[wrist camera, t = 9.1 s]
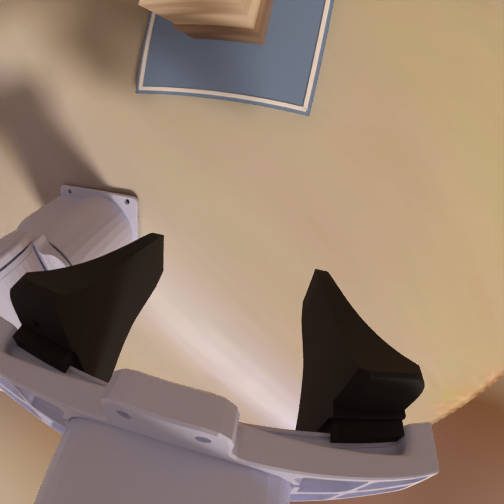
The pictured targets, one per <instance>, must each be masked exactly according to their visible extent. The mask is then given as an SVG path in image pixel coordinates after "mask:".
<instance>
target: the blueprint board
mask: <svg viewBox="0 0 504 504" xmlns="http://www.w3.org/2000/svg"><path fill="white" fill-rule="evenodd" d="M333 3H334V0H261V2H260V6H259V10H258V14H257V18H256V23H255V27H254V29H249V28H241V27H231V26H219V25H200V24H174V23H172V22H171V21H169V20H167V19H165V18H163V17H161V16H159V15H158V14H156V13H154V12H152V11H151V12H150V16H149V20H148V24H147V29H146V34H145V38H144V43H143V49H142V54H141V60H140V66H139V72H138V79H137V86H136V93H148V94H170V95H184V96H195V97H205V98H214V99H222V100H229V101H236V102H242V103H248V104H254V105H260V106H265V107H270V108H275V109H280V110H285V111H289V112H294V113H298V114H302V115H306V116H309V115H310V111H311V106H312V102H313V98H314V93H315V89H316V84H317V80H318V75H319V71H320V66H321V61H322V57H323V52H324V47H325V43H326V38H327V33H328V28H329V23H330V18H331V13H332V8H333Z"/></svg>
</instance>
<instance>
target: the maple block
mask: <svg viewBox="0 0 504 504" xmlns="http://www.w3.org/2000/svg"><path fill="white" fill-rule="evenodd" d="M260 2H261V0H140V1H139V5H140V6H142V7H144V8H146V9H148V10H150V11H152V12H154V13H156V14H158V15H159V16H161V17H163V18H165V19H167V20H169V21H171V22H172V23H174V24H200V25H219V26H231V27H241V28H249V29H254V27H255V23H256V18H257V14H258V10H259V6H260Z"/></svg>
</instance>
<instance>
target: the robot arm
mask: <svg viewBox="0 0 504 504" xmlns="http://www.w3.org/2000/svg"><path fill="white" fill-rule="evenodd" d="M70 190H71V191H72V192H71V191H70ZM60 195H61V196H59V197H57V198H56V199H54V200H52V201H51V202H49V203H48V204H46V205H44V206H43V207H41V208H40V209H38V210H37V211H35V212H34V213H32V214H31V215H29V216H28V217H26V218H25V219H24V220H23V221H22V222H21V223H20V225H19V226H18V228H17V230H15V231H13V232H11V233H9V234H8V235H6V236H4V237H3V238H1V239H0V391H3V392H5V393H6V394H7V395H9V396H10V397H11V398H12V399H14V400H15V401H16V402H18V403H19V404H20V405H21V406H23V407H24V408H25V409H27V410H28V411H29V412H31V413H32V414H33V415H35V416H36V417H37V418H39V419H40V420H42V421H43V422H44V423H46V424H47V425H49V426H50V427H52V428H53V429H55V430H56V431H58V432H59V433H61V434H62V435H63V436H62V438H61V441H60V443H59V445H58V447H57V449H56V452H55V454H54V456H53V458H52V461H51V463H50V465H49V467H48V470H47V473H46V475H45V477H44V479H43V482H42V484H41V487H40V489H39V492H38V495H37V498H36V500H35V503H34V504H290V501H319V500H334V499H344V498H353V497H361V496H368V495H375V494H381V493H387V492H393V491H398V490H403V489H405V488H408V487H410V486H412V485H414V484H417V483H419V482H421V481H423V480H425V479H427V478H429V477H431V476H433V475H435V474H437V473H438V472H439V467H438V459H437V453H436V448H435V443H434V437H433V432H432V428H431V423H430V422H425V423H413V424H408V425H405V426H403V423H402V420H403V419H405V417H406V415H405V409H406V408H407V407H408V406H409V405H410V404H411V403H413V402H414V401H415V400H416V399H417V398H418V397H419V396H420V394H421V393H422V391H423V389H424V380H423V376H422V373H421V370H420V367H419V365H417V364H416V363H414V362H412V361H411V360H409V359H408V358H406V357H404V356H403V355H401V354H400V353H399V352H397V351H396V350H395V349H393V348H392V347H391V346H390V345H388V344H387V343H386V342H385V341H384V340H382V339H381V338H380V337H379V336H378V335H377V334H376V333H375V332H374V331H373V330H372V329H371V328H370V327H369V326H368V325H367V324H366V323H365V322H364V321H363V320H362V318H361V317H360V316H359V315H358V314H357V312H356V311H355V310H354V309H353V307H352V306H351V305H350V303H349V302H348V301H347V299H346V298H345V296H344V295H343V293H342V292H341V290H340V289H339V287H338V286H337V284H336V283H335V281H334V280H333V278H332V277H331V275H330V274H329V273H328V272H327V271H322V270H318V269H315V272H314V274H313V277H312V280H311V282H310V285H309V288H308V290H307V293H306V296H305V298H304V301H303V307H302V340H303V379H302V389H301V398H300V405H299V412H298V419H297V425H296V430H287V429H279V428H271V427H265V426H258V425H252V424H246V423H241V422H238V421H239V411H238V408H237V407H236V405H234V404H233V403H232V402H230V401H229V400H227V399H226V398H224V397H221V396H219V395H216V394H213V393H210V392H207V391H203V390H199V389H195V388H191V387H187V386H184V385H180V384H177V383H173V382H170V381H167V380H163V379H160V378H157V377H154V376H151V375H148V374H145V373H142V372H139V371H135V370H130V369H121V370H118V371H114V368H115V366H116V363H117V360H118V357H119V354H120V352H121V349H122V347H123V344H124V342H125V340H126V337H127V335H128V333H129V331H130V329H131V326H132V325H133V323H134V321H135V319H136V317H137V316H138V314H139V313H140V311H141V309H142V308H143V306H144V305H145V303H146V302H147V300H148V298H149V297H150V295H151V294H152V292H153V291H154V289H155V287H156V285H157V283H158V281H159V279H160V277H161V275H162V272H163V249H164V235H160V234H156V233H150V234H148V235H146V236H143V237H141V238H139V232H138V199H137V198H136V197H135V196H130V195H125V194H119V193H113V192H107V191H101V190H95V189H89V188H83V187H76V186H70V185H63V186H61V187H60ZM127 199H128V200H129V203H128V202H127ZM113 371H114V373H113ZM112 374H113V375H112Z"/></svg>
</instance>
